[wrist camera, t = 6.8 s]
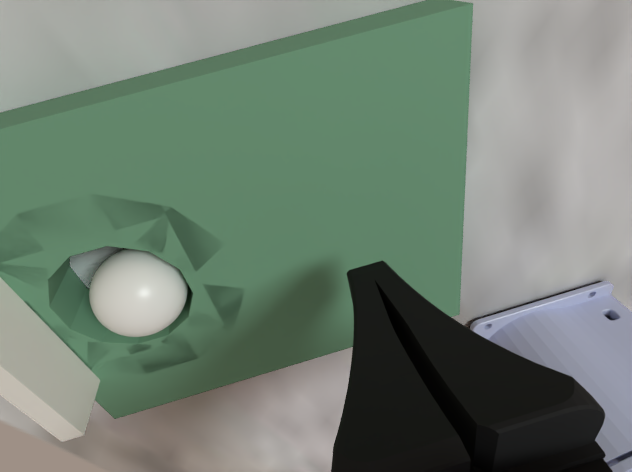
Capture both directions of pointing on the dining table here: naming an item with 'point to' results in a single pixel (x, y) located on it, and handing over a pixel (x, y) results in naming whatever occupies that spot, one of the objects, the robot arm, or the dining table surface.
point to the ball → (137, 293)
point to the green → (233, 207)
